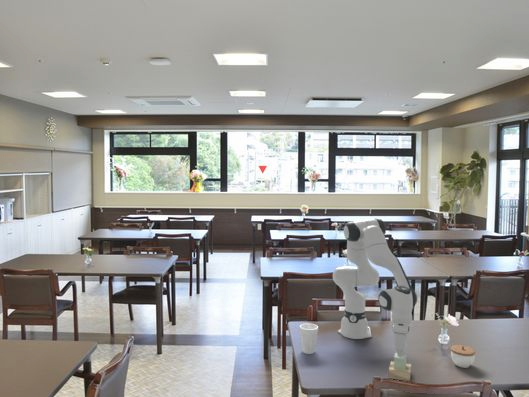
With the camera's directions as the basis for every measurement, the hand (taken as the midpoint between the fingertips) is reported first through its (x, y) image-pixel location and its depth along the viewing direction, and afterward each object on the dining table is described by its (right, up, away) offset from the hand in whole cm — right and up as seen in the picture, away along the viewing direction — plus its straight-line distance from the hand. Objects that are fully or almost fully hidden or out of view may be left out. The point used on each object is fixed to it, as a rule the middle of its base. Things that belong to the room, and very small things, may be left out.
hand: (400, 352), depth 197 cm
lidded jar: (+33, -10, +12) cm, 37 cm away
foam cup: (-39, -9, +26) cm, 48 cm away
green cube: (0, -7, 0) cm, 6 cm away
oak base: (0, -11, 0) cm, 10 cm away
